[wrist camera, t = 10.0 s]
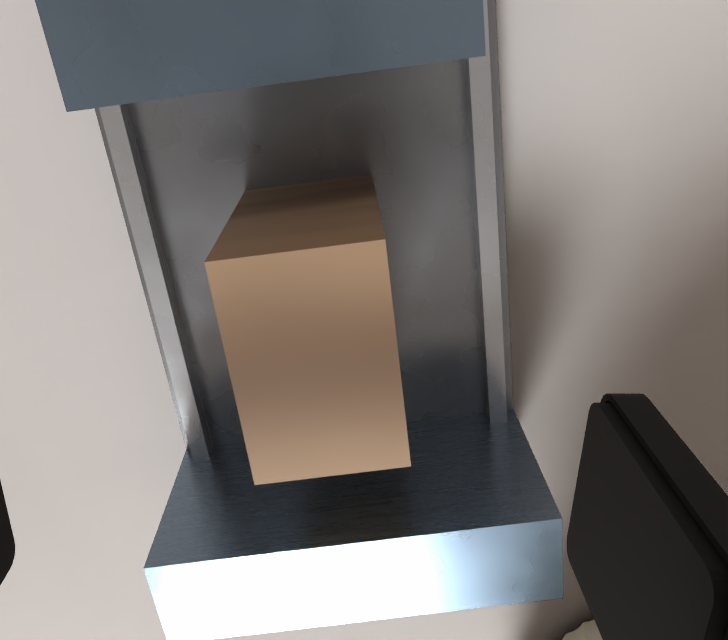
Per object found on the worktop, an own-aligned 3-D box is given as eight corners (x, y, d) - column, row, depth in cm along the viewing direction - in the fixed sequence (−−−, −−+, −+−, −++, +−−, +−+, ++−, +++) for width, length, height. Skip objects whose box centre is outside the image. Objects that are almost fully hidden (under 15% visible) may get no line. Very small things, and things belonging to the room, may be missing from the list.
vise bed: (54, -114, 20) (-103, -187, 13) (476, -173, 19) (553, -281, 12) (210, 490, 28) (168, 644, 21) (507, 454, 28) (562, 598, 21)
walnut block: (244, 190, 22) (203, 262, 15) (372, 174, 22) (385, 239, 15) (277, 360, 24) (254, 485, 18) (392, 346, 24) (411, 466, 17)
